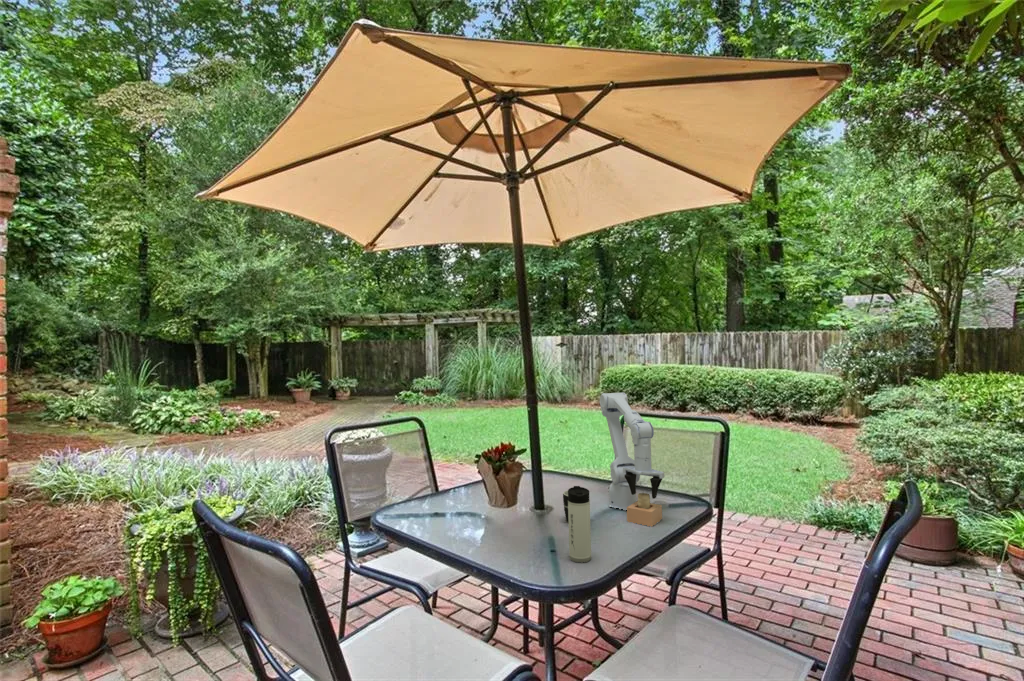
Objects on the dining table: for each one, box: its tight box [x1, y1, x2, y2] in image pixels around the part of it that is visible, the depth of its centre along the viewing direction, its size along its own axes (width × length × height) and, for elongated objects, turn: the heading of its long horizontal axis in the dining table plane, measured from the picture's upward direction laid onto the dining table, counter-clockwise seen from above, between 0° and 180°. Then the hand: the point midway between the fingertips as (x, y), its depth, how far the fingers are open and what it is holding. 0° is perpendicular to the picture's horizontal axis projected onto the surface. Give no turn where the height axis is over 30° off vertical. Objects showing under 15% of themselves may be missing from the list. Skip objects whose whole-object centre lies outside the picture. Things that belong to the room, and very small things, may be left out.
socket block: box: [626, 500, 663, 528], centre depth 171 cm, size 9×9×5 cm
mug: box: [562, 489, 569, 524], centre depth 170 cm, size 12×9×10 cm
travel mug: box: [567, 485, 592, 564], centre depth 142 cm, size 6×7×20 cm
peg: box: [637, 492, 651, 509], centre depth 172 cm, size 4×4×8 cm
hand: (643, 495), depth 172 cm, fingers open, 7 cm apart
